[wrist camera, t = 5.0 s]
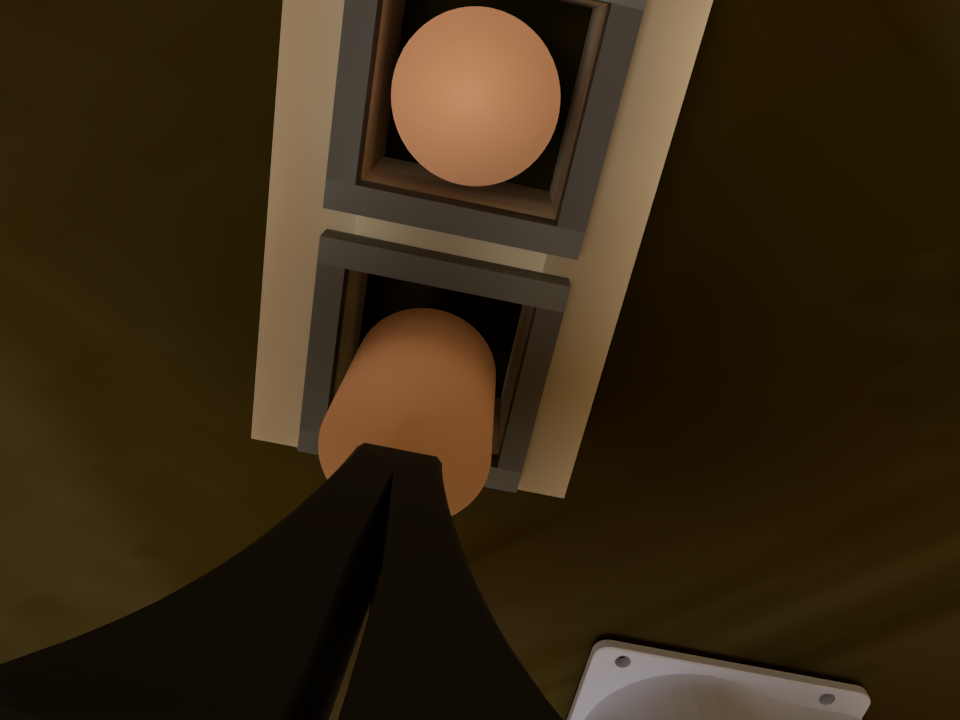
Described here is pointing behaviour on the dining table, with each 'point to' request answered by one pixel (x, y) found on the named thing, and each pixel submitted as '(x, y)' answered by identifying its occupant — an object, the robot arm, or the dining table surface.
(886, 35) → the dining table surface
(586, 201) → the socket block
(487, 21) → the peg
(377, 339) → the peg
